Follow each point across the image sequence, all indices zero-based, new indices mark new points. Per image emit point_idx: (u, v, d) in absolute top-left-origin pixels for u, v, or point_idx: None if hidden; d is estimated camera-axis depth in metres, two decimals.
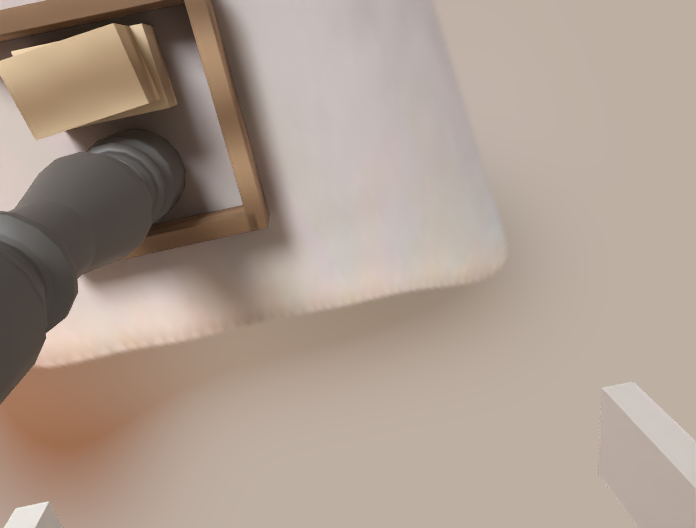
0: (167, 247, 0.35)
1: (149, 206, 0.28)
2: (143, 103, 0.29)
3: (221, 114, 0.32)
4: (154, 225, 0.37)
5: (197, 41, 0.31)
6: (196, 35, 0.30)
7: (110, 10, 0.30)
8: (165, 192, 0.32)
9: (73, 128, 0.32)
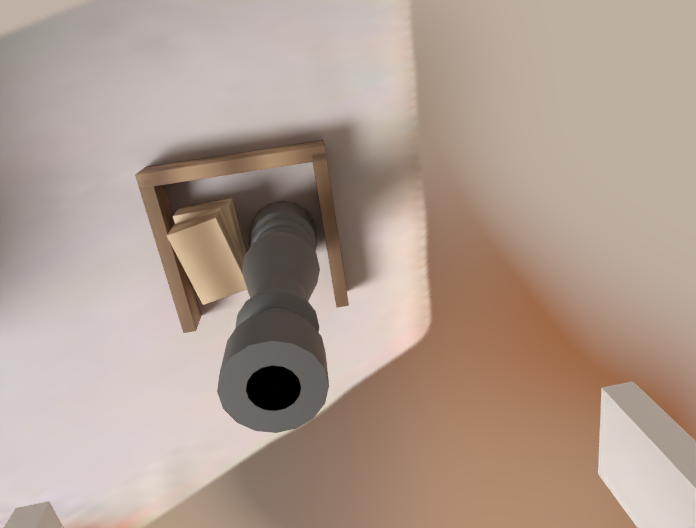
0: (335, 224, 0.46)
1: (280, 234, 0.39)
2: (216, 221, 0.42)
3: (233, 170, 0.43)
4: None
5: (182, 180, 0.43)
6: (178, 180, 0.43)
7: (166, 233, 0.45)
8: (286, 219, 0.43)
9: None
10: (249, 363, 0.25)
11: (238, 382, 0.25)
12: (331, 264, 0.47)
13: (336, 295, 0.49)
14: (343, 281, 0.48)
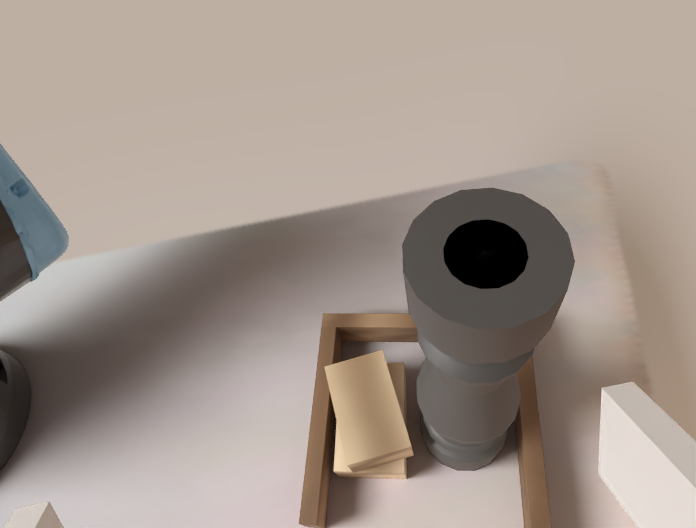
0: (535, 406, 0.35)
1: None
2: (382, 353, 0.36)
3: None
4: (516, 433, 0.37)
5: (366, 326, 0.40)
6: (362, 325, 0.41)
7: None
8: None
9: None
10: (456, 212, 0.18)
11: (435, 235, 0.18)
12: (527, 464, 0.33)
13: (533, 519, 0.32)
14: (545, 497, 0.32)
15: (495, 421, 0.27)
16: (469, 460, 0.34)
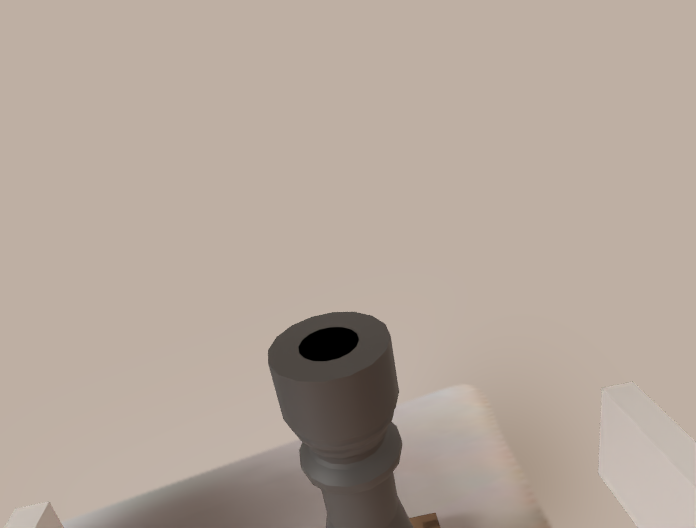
0: None
1: None
2: None
3: None
4: None
5: None
6: None
7: None
8: None
9: None
10: (308, 327, 0.24)
11: (292, 341, 0.23)
12: None
13: None
14: None
15: None
16: None
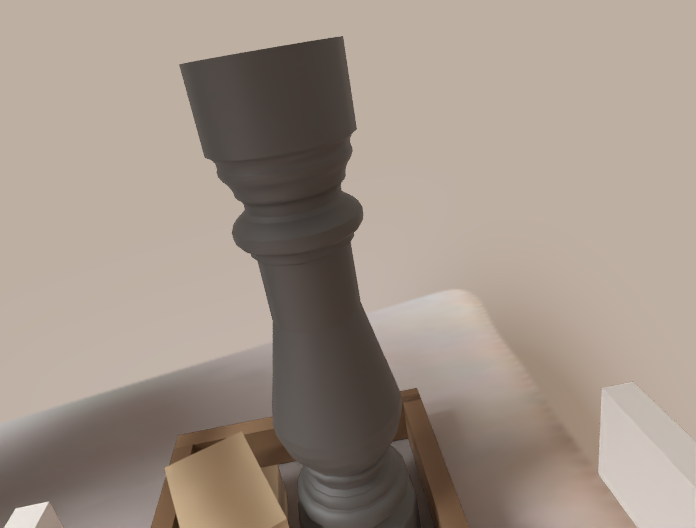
0: (444, 469, 0.27)
1: None
2: (241, 434, 0.28)
3: None
4: None
5: (231, 435, 0.32)
6: (226, 436, 0.32)
7: None
8: None
9: None
10: None
11: None
12: None
13: None
14: None
15: (363, 395, 0.21)
16: None
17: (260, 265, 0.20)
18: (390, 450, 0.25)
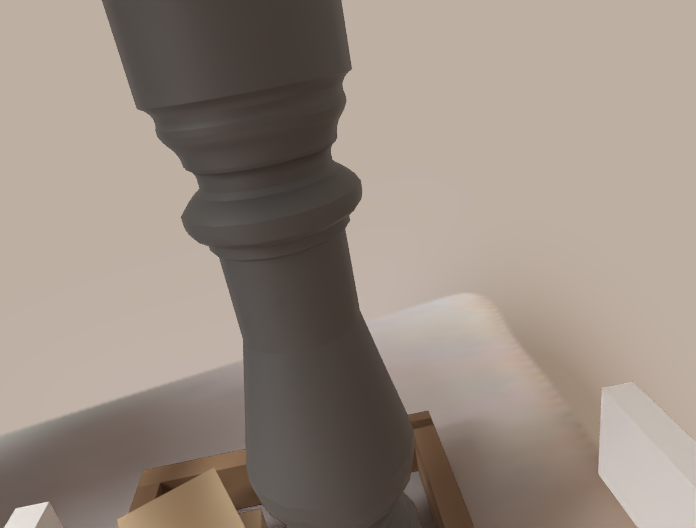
0: (467, 517, 0.22)
1: None
2: (214, 471, 0.23)
3: None
4: None
5: None
6: (201, 471, 0.27)
7: None
8: None
9: None
10: None
11: None
12: None
13: None
14: None
15: (365, 436, 0.15)
16: None
17: (222, 262, 0.14)
18: (399, 498, 0.20)
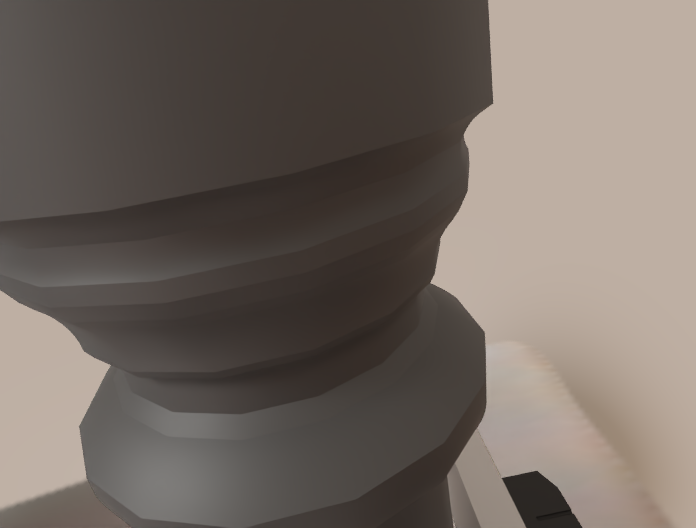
0: None
1: None
2: None
3: None
4: None
5: None
6: None
7: None
8: None
9: None
10: None
11: None
12: None
13: None
14: None
15: None
16: None
17: None
18: None
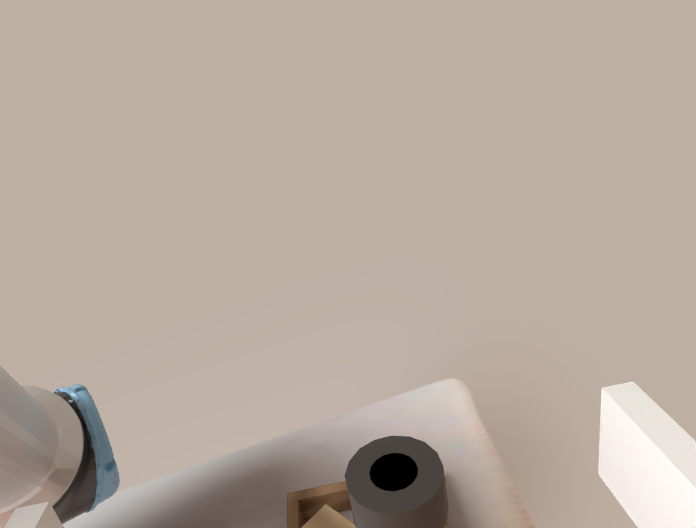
0: None
1: None
2: (327, 505, 0.51)
3: None
4: None
5: (320, 494, 0.56)
6: (317, 494, 0.56)
7: None
8: None
9: None
10: (373, 452, 0.30)
11: (363, 467, 0.29)
12: None
13: None
14: None
15: None
16: None
17: None
18: None
